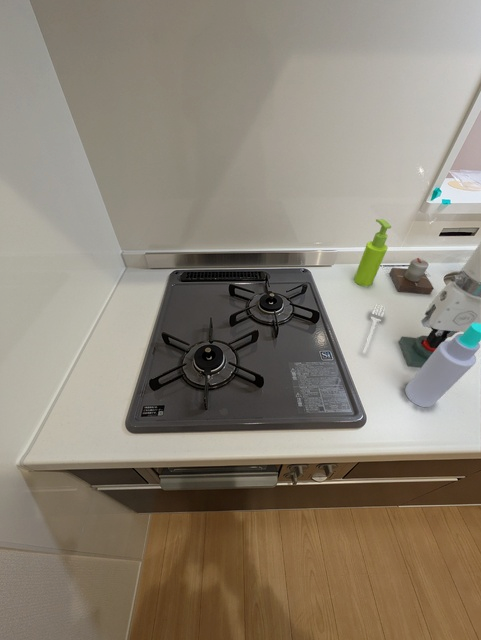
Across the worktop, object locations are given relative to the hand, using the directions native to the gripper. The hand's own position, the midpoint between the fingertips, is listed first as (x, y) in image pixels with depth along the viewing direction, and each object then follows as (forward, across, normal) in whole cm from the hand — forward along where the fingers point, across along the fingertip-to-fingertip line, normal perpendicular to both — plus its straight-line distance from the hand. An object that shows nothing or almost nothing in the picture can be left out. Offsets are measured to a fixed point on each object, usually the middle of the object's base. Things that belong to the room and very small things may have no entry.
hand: (432, 343), depth 67 cm
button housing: (+5, 0, 0) cm, 5 cm away
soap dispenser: (+5, -9, +31) cm, 33 cm away
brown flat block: (+5, +6, +31) cm, 32 cm away
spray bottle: (+5, -5, -12) cm, 14 cm away
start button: (+2, 0, 0) cm, 2 cm away
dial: (+2, +6, +31) cm, 32 cm away
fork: (+5, -11, +8) cm, 14 cm away
